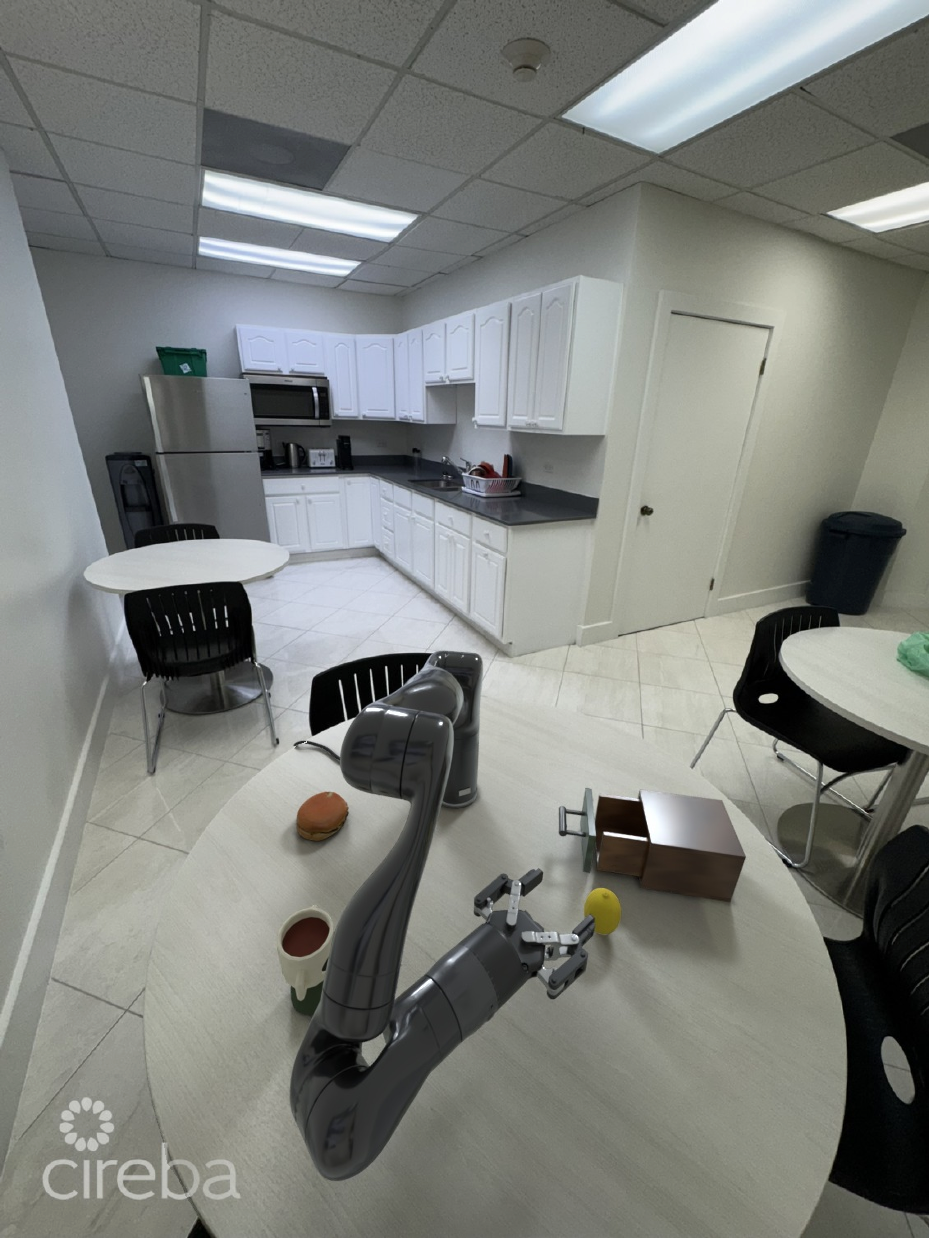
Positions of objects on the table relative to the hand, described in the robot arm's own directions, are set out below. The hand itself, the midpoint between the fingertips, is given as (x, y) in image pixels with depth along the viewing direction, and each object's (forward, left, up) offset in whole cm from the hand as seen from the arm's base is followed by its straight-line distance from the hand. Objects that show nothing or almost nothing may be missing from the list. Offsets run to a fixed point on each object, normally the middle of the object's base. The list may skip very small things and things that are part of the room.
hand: (565, 896), depth 65 cm
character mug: (-33, -8, -17) cm, 38 cm away
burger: (-45, +21, -17) cm, 52 cm away
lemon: (+7, +9, -17) cm, 20 cm away
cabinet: (+22, +24, -17) cm, 37 cm away
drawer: (+9, +24, -16) cm, 30 cm away
